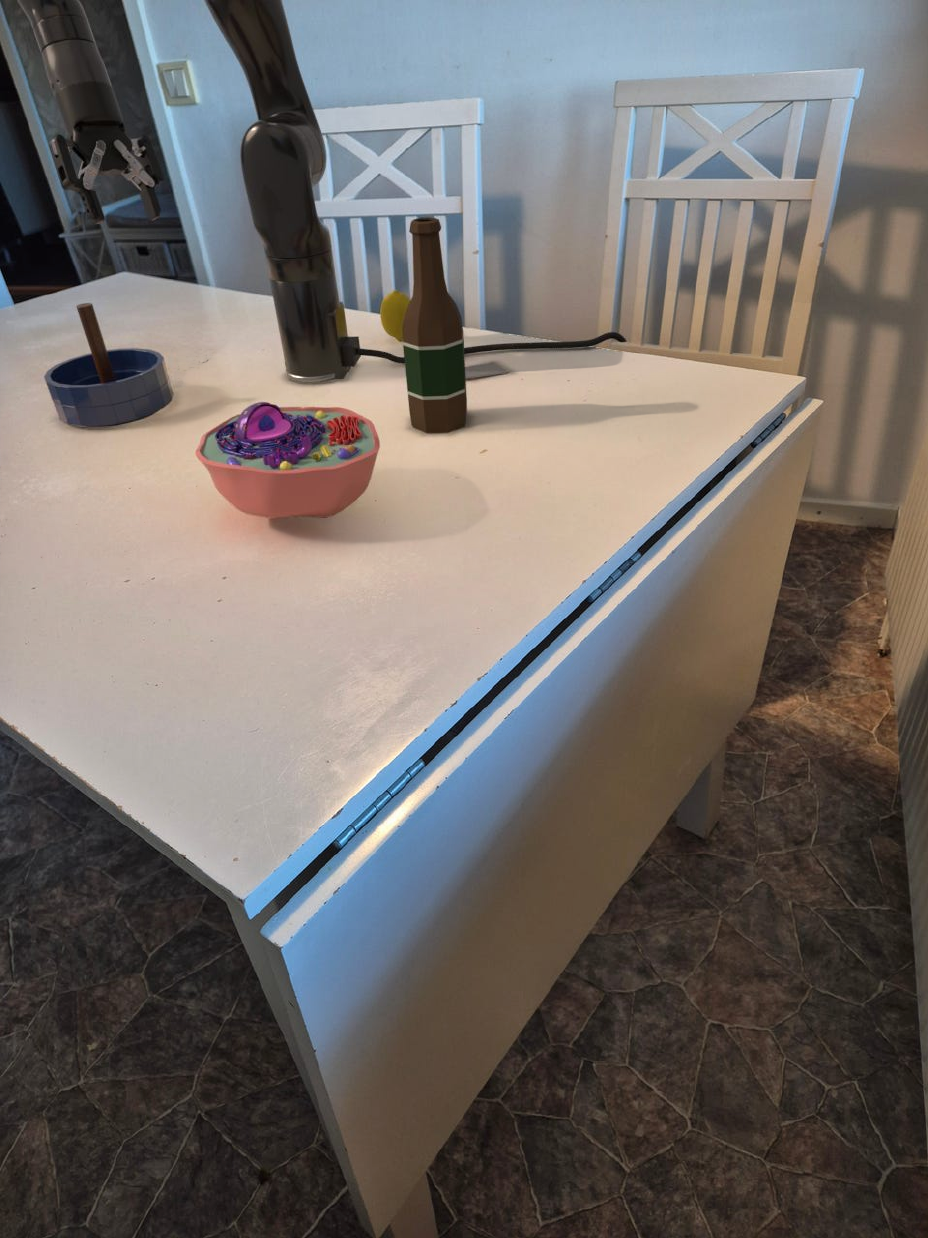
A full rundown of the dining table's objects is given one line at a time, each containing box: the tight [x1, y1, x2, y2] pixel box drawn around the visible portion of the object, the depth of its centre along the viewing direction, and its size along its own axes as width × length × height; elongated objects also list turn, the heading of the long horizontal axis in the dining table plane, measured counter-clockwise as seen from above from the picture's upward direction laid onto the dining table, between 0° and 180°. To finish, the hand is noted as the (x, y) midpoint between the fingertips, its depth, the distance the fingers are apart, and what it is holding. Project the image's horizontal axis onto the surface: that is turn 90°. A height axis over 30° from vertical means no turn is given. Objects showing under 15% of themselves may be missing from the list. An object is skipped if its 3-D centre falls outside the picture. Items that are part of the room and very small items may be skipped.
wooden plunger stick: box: [76, 302, 116, 384], centre depth 111 cm, size 6×6×14 cm
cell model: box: [195, 401, 381, 519], centre depth 85 cm, size 17×20×11 cm
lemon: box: [379, 289, 411, 342], centre depth 131 cm, size 6×6×8 cm
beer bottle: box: [402, 216, 468, 434], centre depth 98 cm, size 8×8×24 cm
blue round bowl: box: [43, 347, 175, 428], centre depth 113 cm, size 16×16×6 cm
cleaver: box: [465, 361, 510, 380], centre depth 118 cm, size 13×1×5 cm
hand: (127, 220), depth 113 cm, fingers open, 8 cm apart
